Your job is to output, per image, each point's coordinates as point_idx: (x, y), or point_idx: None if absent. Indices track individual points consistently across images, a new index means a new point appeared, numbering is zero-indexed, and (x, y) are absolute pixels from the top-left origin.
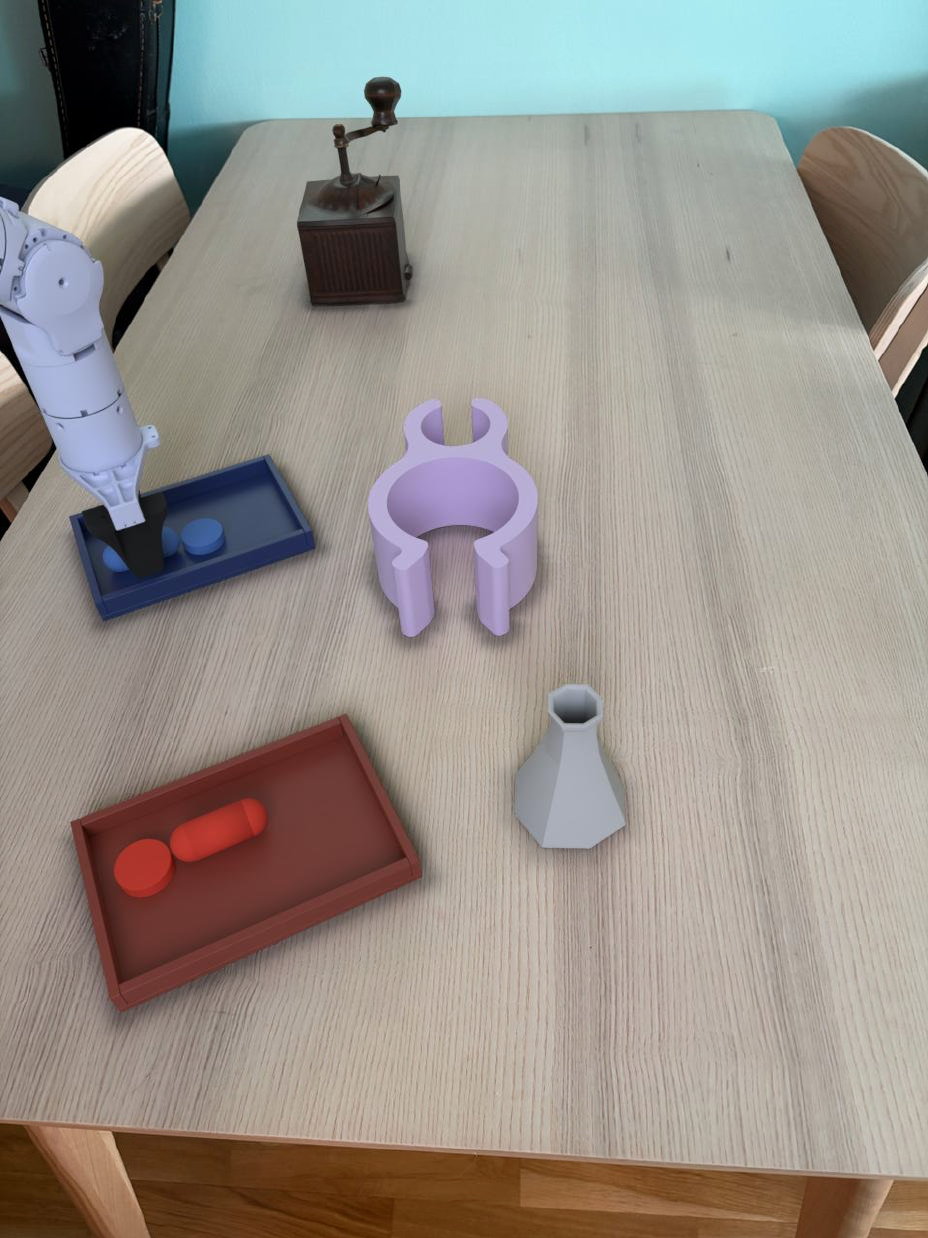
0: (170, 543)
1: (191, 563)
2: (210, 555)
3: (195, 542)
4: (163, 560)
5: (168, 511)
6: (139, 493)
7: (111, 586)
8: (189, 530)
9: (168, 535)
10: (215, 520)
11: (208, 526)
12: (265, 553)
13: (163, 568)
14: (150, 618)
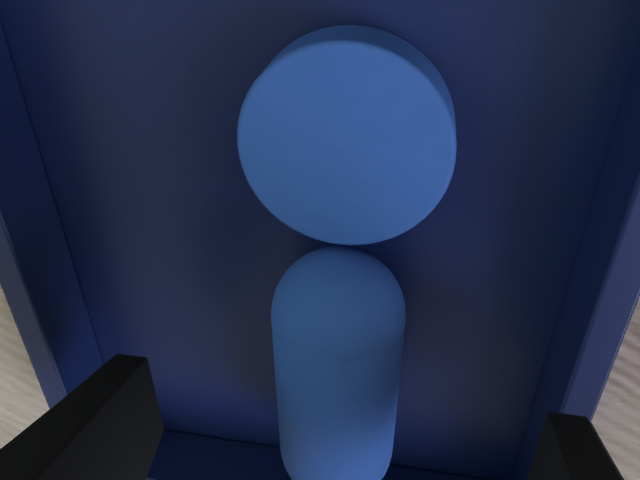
0: (394, 320)
1: (467, 223)
2: (471, 139)
3: (405, 202)
4: (607, 457)
5: (94, 195)
6: (91, 419)
7: (414, 446)
8: (303, 198)
9: (363, 331)
10: (287, 60)
11: (320, 110)
12: None
13: (592, 425)
14: (621, 396)
